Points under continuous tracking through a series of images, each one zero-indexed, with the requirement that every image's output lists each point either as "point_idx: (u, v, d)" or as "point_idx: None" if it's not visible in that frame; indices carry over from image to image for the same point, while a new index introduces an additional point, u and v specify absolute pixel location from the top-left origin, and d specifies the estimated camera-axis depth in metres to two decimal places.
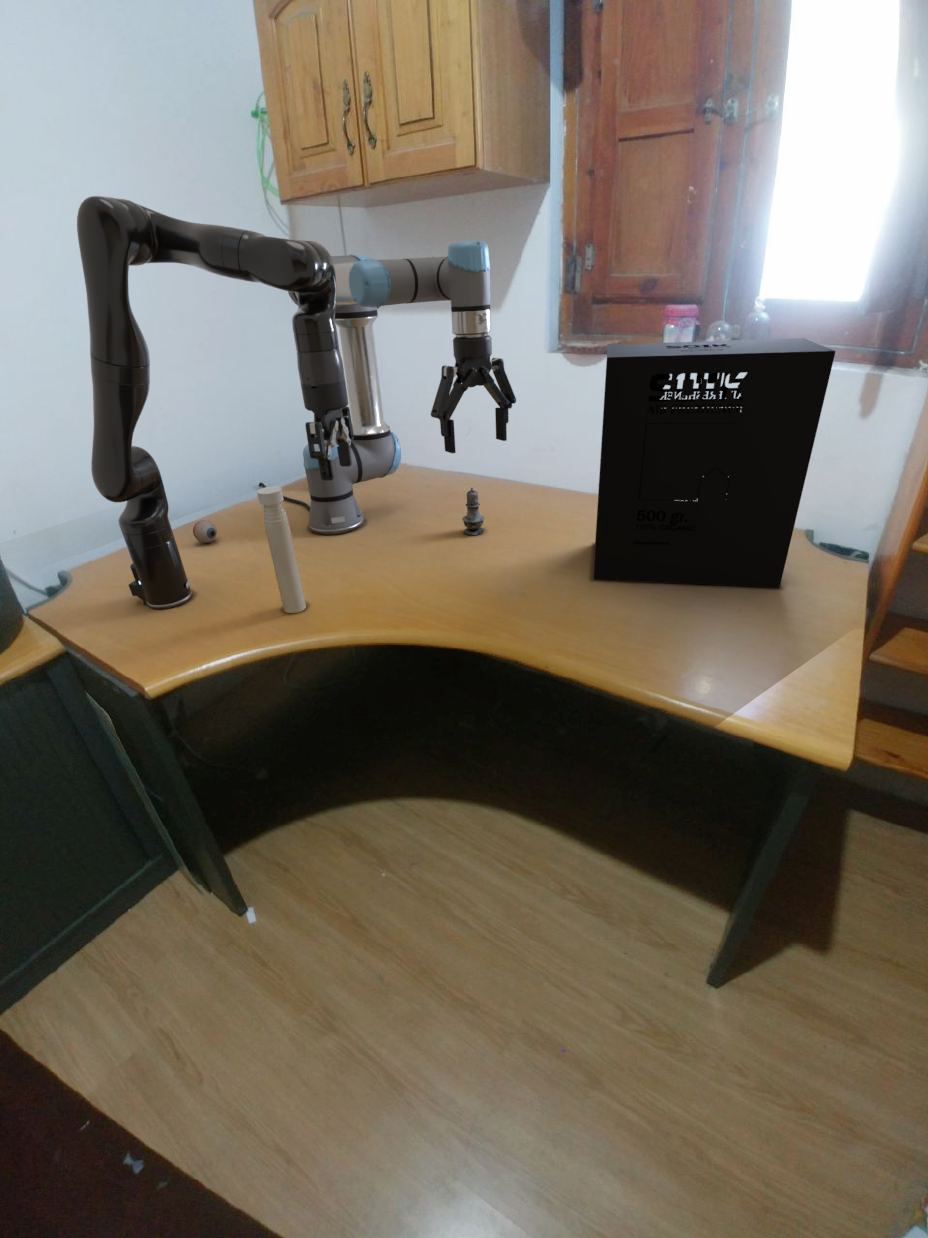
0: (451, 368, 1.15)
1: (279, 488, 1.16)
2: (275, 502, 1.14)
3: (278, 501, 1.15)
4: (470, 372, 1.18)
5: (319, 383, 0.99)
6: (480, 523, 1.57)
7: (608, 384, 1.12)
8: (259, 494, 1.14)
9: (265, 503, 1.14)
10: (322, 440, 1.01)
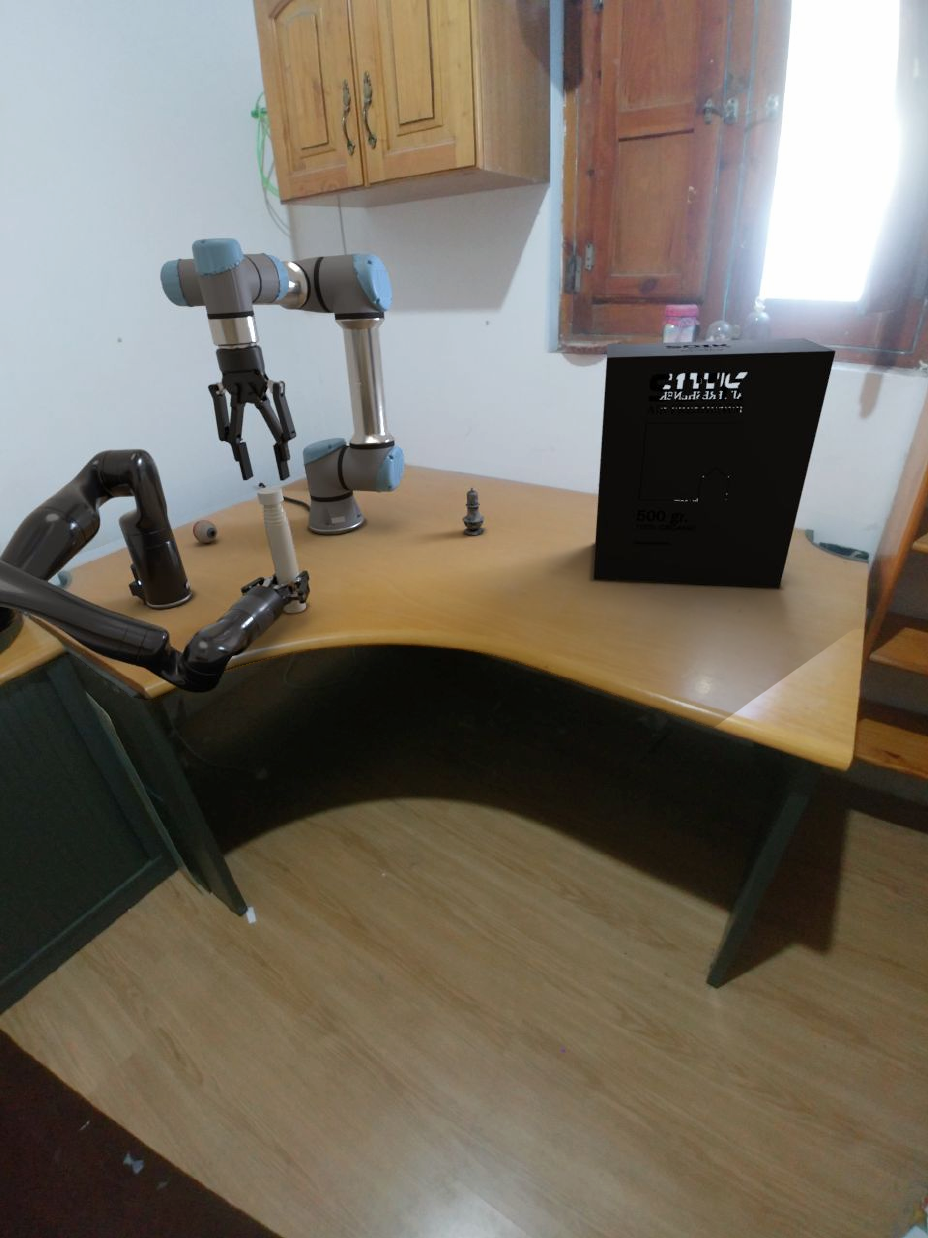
0: None
1: (279, 488, 1.16)
2: (275, 502, 1.14)
3: (278, 501, 1.15)
4: None
5: (271, 609, 1.12)
6: (480, 523, 1.57)
7: (608, 384, 1.12)
8: (259, 494, 1.14)
9: (265, 503, 1.14)
10: (302, 585, 1.19)
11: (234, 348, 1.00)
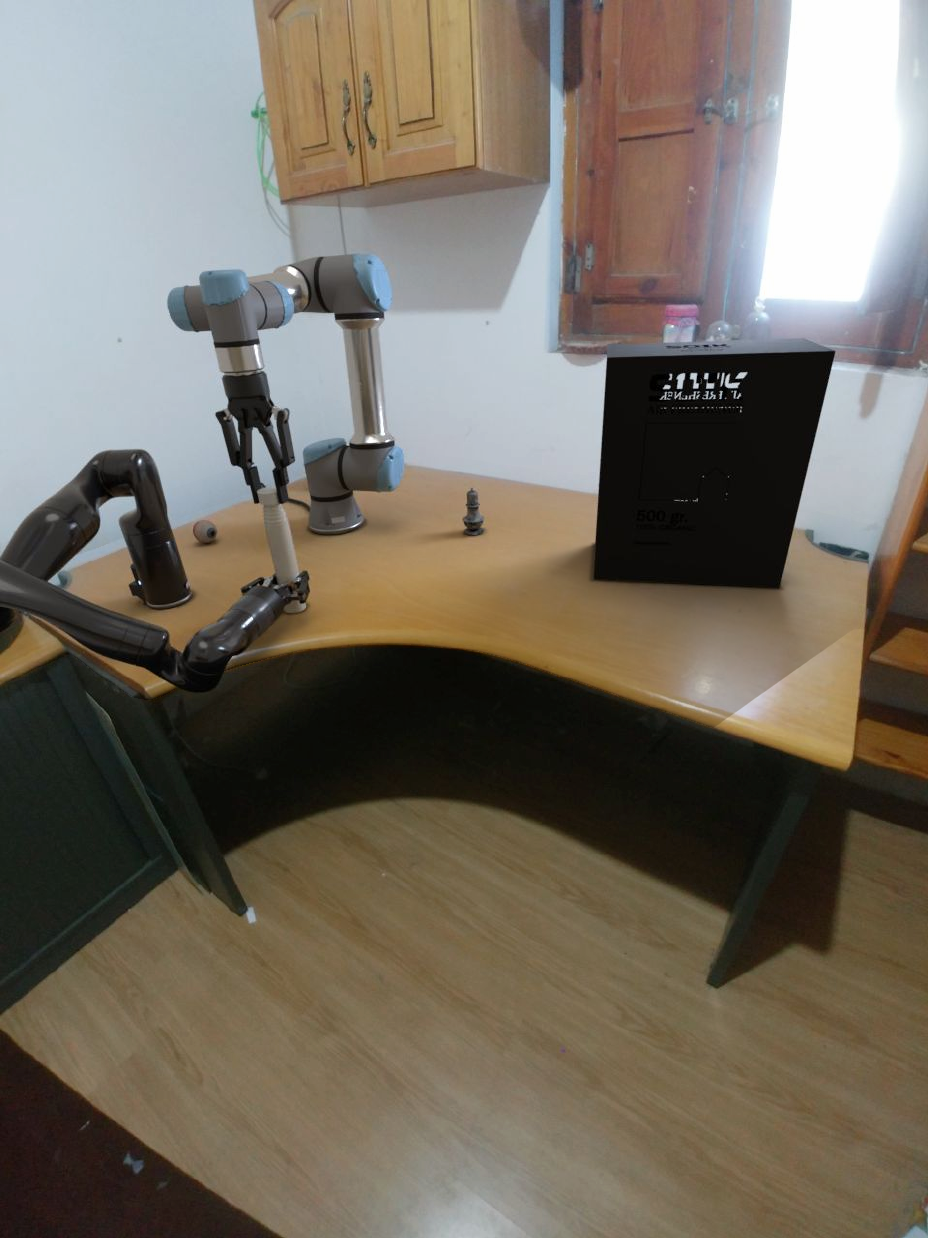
0: None
1: None
2: (275, 502, 1.14)
3: (278, 501, 1.15)
4: None
5: (271, 609, 1.12)
6: (480, 523, 1.57)
7: (608, 384, 1.12)
8: (259, 494, 1.14)
9: (265, 503, 1.14)
10: (302, 585, 1.19)
11: (240, 375, 1.02)
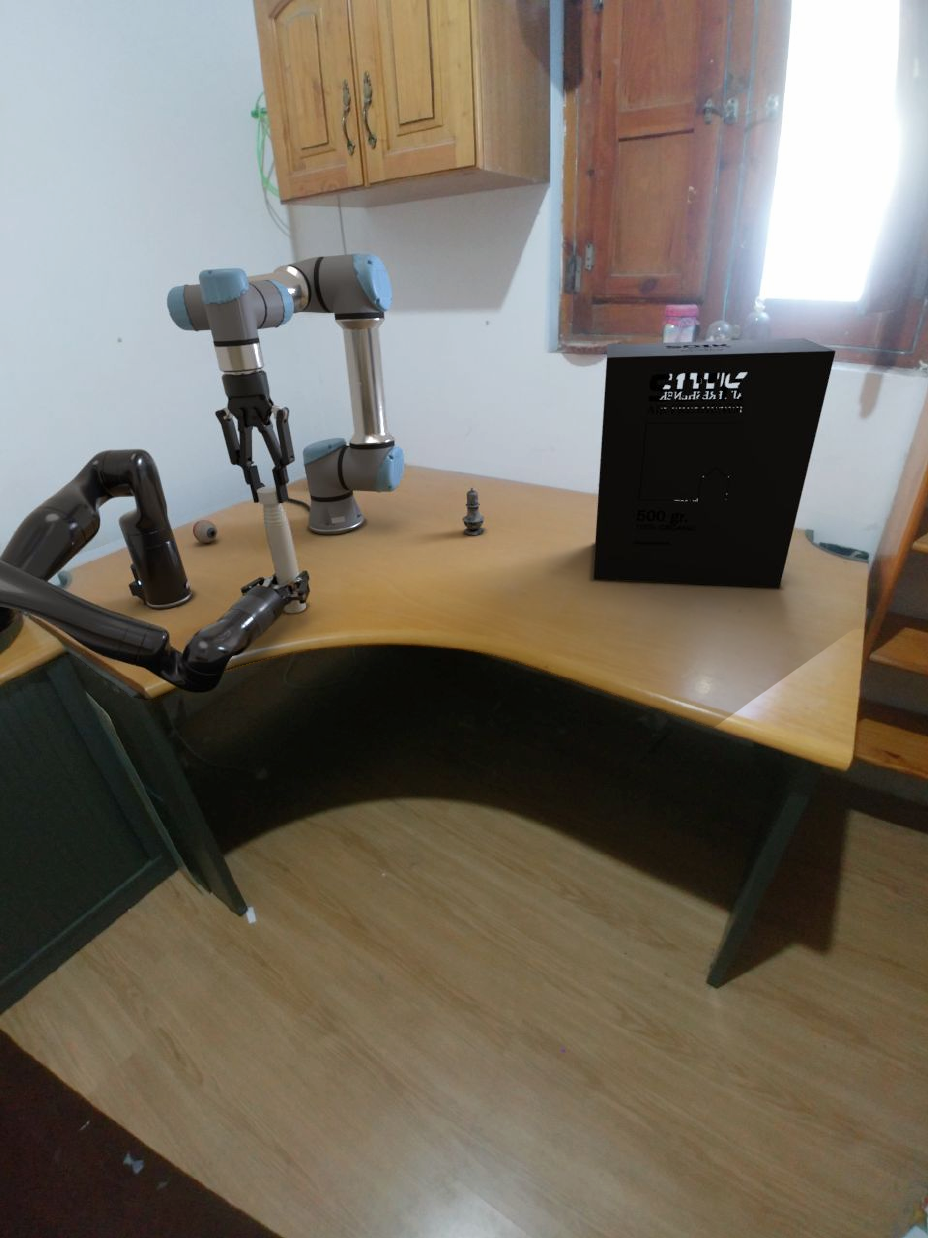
0: None
1: (261, 488, 1.16)
2: None
3: None
4: None
5: (271, 609, 1.11)
6: (480, 523, 1.57)
7: (608, 384, 1.12)
8: None
9: None
10: (302, 585, 1.19)
11: (239, 374, 1.02)
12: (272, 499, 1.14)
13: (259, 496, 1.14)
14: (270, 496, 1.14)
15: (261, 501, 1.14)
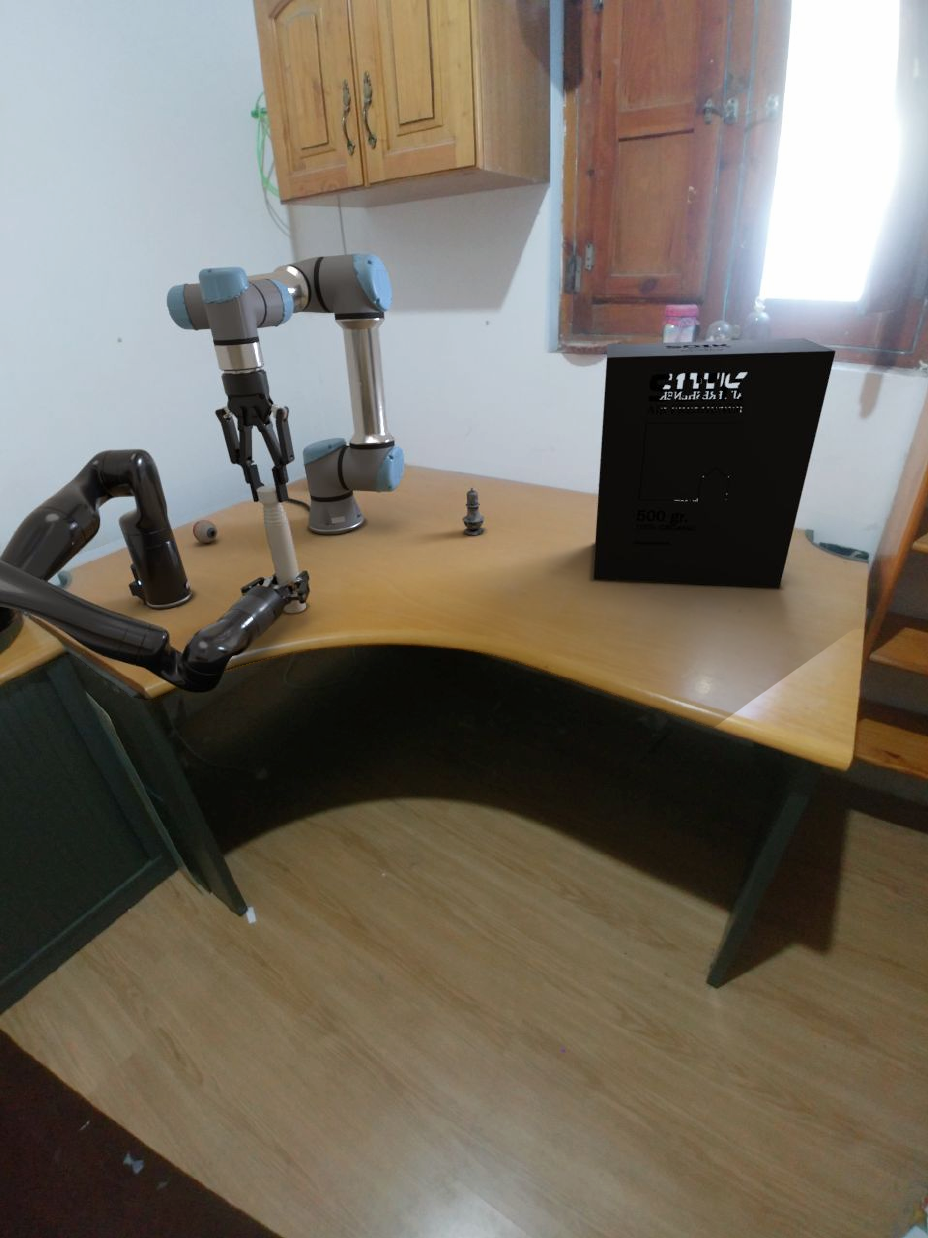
0: None
1: (269, 491, 1.13)
2: (259, 500, 1.15)
3: (260, 501, 1.14)
4: None
5: (271, 609, 1.11)
6: (480, 523, 1.57)
7: (608, 384, 1.12)
8: None
9: None
10: (302, 585, 1.19)
11: (239, 373, 1.02)
12: None
13: None
14: None
15: None
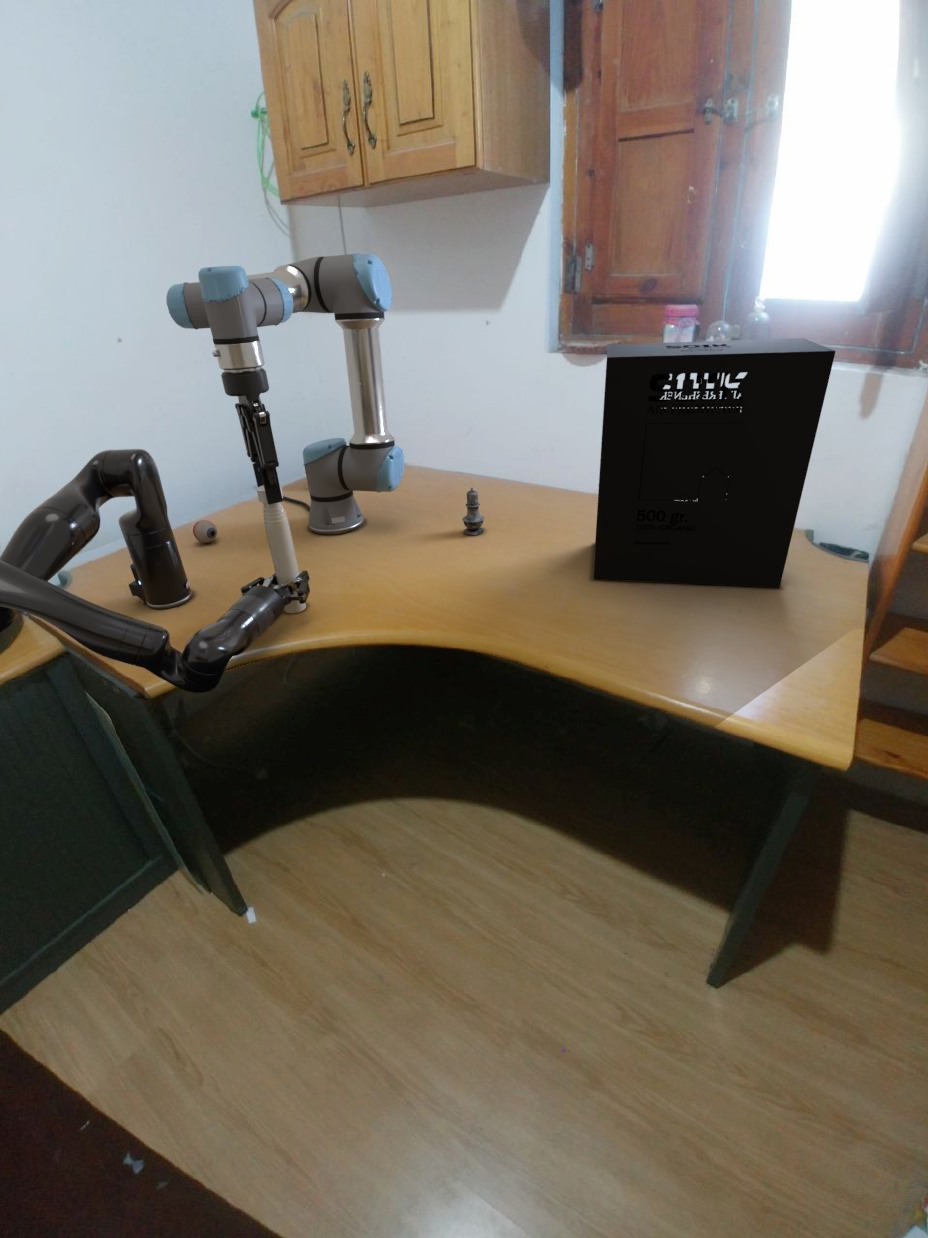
0: (235, 405, 1.12)
1: None
2: None
3: (282, 496, 1.16)
4: None
5: (271, 609, 1.11)
6: (480, 523, 1.57)
7: (608, 384, 1.12)
8: None
9: None
10: (302, 585, 1.19)
11: None
12: (258, 497, 1.15)
13: None
14: None
15: None
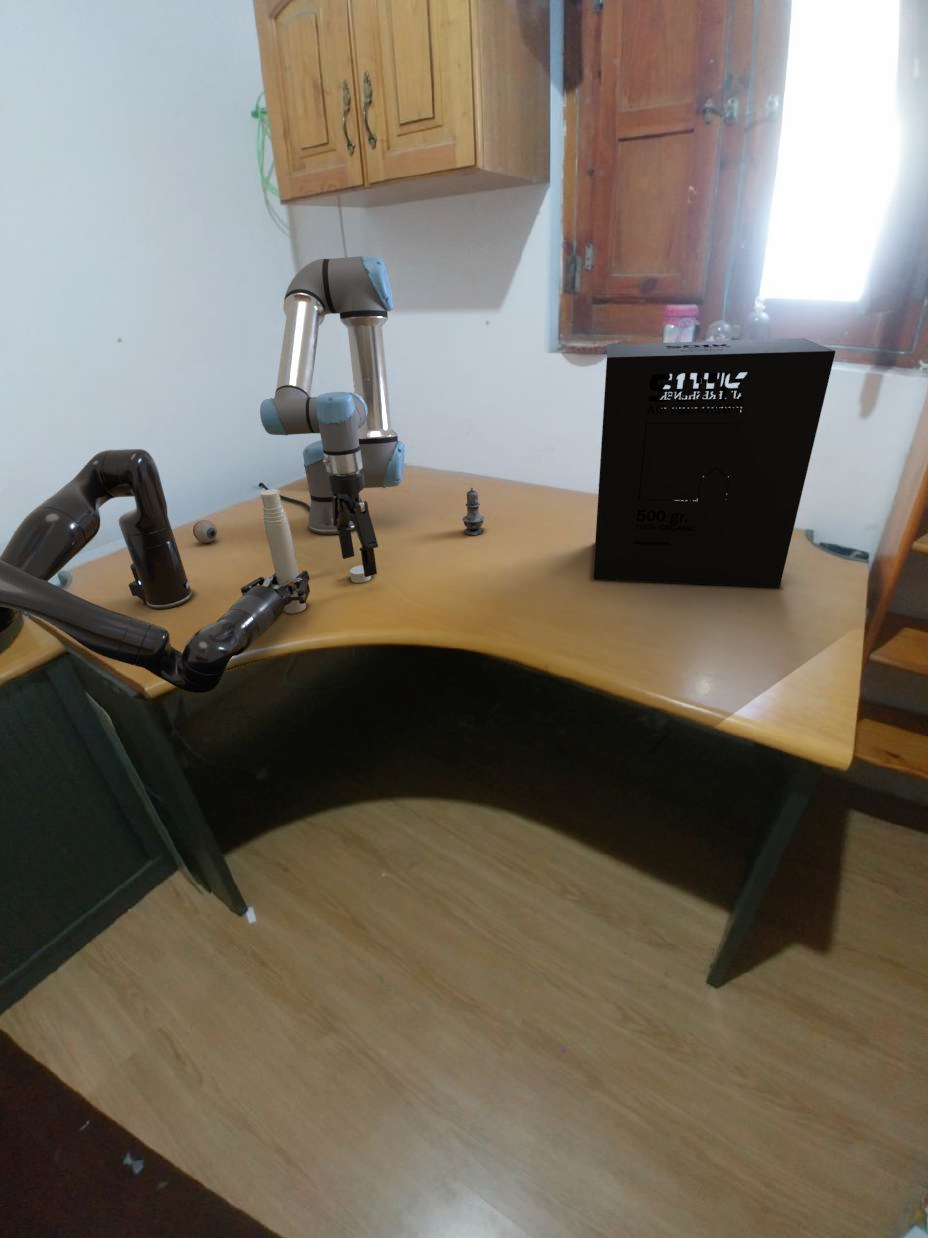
0: None
1: None
2: (370, 577, 1.38)
3: (370, 576, 1.39)
4: None
5: (271, 609, 1.11)
6: (480, 523, 1.57)
7: (608, 384, 1.12)
8: (359, 574, 1.36)
9: (364, 580, 1.37)
10: (302, 585, 1.19)
11: None
12: (351, 577, 1.38)
13: None
14: None
15: None
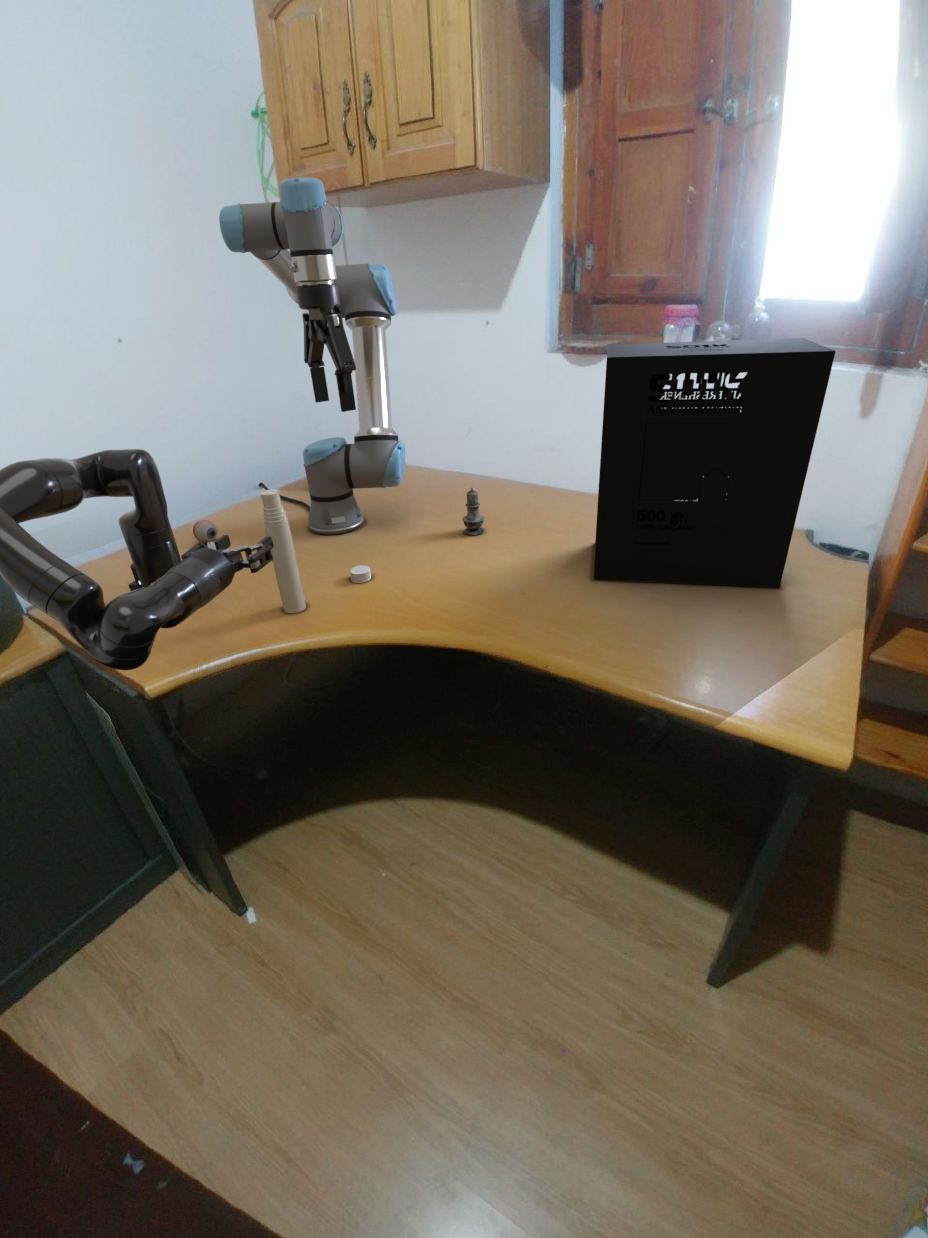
0: (303, 315, 1.16)
1: (364, 566, 1.39)
2: (370, 577, 1.38)
3: (370, 576, 1.39)
4: None
5: (216, 574, 0.95)
6: (480, 523, 1.57)
7: (608, 384, 1.12)
8: (359, 574, 1.36)
9: (364, 580, 1.37)
10: (259, 552, 1.01)
11: None
12: (351, 577, 1.38)
13: None
14: None
15: None
